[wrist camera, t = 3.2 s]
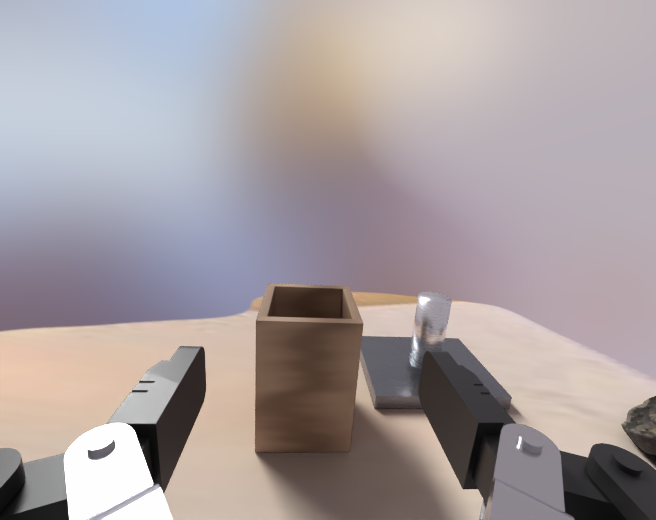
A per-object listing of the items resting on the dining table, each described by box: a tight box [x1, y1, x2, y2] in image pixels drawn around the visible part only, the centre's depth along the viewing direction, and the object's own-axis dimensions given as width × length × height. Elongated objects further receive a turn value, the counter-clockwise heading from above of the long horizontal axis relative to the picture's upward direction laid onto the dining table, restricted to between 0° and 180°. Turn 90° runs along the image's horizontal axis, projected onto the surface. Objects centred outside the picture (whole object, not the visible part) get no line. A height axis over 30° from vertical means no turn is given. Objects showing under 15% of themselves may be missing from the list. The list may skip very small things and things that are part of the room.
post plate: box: [360, 292, 512, 409], centre depth 31 cm, size 12×10×8 cm
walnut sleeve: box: [255, 283, 363, 452], centre depth 24 cm, size 7×7×10 cm
